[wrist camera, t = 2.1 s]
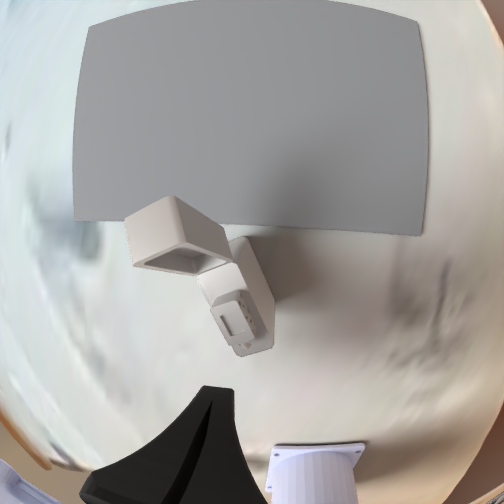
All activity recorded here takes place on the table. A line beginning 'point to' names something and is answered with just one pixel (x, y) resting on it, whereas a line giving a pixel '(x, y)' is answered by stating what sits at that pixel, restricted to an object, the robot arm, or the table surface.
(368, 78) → the mat
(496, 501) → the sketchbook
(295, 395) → the table surface
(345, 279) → the table surface
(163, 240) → the lighter
